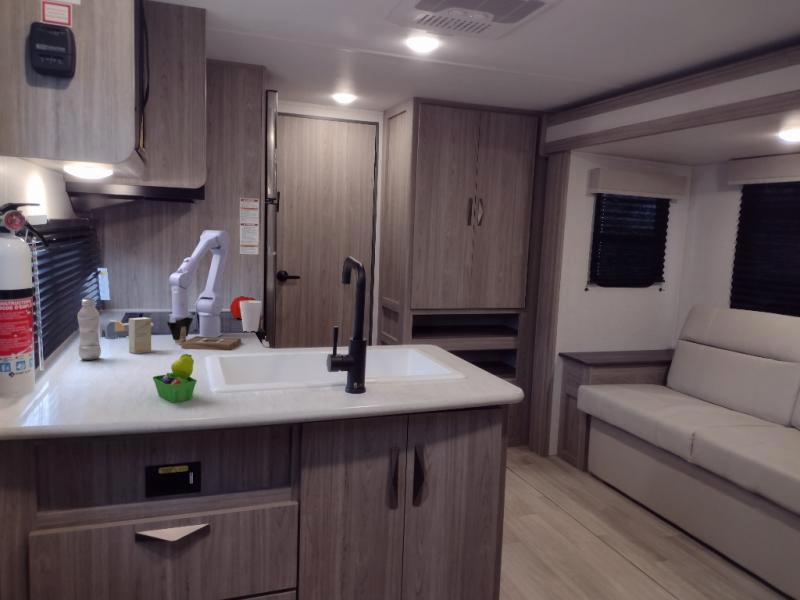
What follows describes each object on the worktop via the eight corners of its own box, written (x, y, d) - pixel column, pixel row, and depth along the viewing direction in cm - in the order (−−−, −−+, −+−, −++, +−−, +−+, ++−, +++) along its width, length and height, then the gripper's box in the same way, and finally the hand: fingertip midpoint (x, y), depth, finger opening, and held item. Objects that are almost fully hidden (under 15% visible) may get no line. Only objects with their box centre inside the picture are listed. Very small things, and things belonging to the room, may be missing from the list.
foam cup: (239, 329, 254) (239, 300, 253) (260, 328, 257) (260, 300, 255) (240, 332, 245) (240, 303, 244) (261, 332, 248) (262, 303, 246)
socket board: (196, 341, 223) (196, 335, 223) (241, 343, 223) (241, 337, 223) (181, 348, 210) (181, 342, 209) (229, 350, 209) (229, 344, 209)
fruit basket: (151, 395, 150) (150, 353, 149) (184, 389, 156) (183, 349, 155) (169, 405, 142) (168, 361, 141) (202, 399, 148) (202, 356, 147)
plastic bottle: (91, 362, 183) (90, 301, 181) (73, 360, 185) (71, 299, 182) (105, 358, 190) (104, 299, 187) (88, 356, 191) (86, 297, 189)
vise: (109, 340, 221) (109, 323, 220) (98, 336, 227) (97, 320, 226) (154, 334, 234) (154, 319, 234) (142, 331, 241) (142, 316, 240)
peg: (177, 341, 223) (177, 326, 222) (187, 341, 223) (187, 326, 222) (173, 343, 219) (172, 327, 218) (183, 343, 218) (183, 328, 218)
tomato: (262, 320, 281) (262, 297, 280) (233, 321, 274) (233, 297, 272) (254, 316, 292) (255, 294, 291) (227, 317, 285) (227, 294, 284)
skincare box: (134, 354, 197) (134, 319, 196) (128, 352, 200) (127, 318, 198) (152, 351, 202) (151, 318, 201) (145, 349, 205) (145, 316, 203)
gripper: (177, 301, 226) (178, 334, 228) (161, 305, 212) (161, 341, 213) (195, 301, 226) (195, 335, 228) (180, 306, 212) (180, 341, 213)
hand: (180, 338), depth 220 cm, fingers open, 7 cm apart
